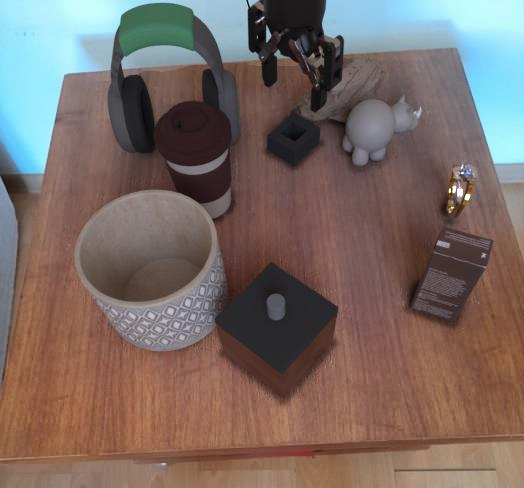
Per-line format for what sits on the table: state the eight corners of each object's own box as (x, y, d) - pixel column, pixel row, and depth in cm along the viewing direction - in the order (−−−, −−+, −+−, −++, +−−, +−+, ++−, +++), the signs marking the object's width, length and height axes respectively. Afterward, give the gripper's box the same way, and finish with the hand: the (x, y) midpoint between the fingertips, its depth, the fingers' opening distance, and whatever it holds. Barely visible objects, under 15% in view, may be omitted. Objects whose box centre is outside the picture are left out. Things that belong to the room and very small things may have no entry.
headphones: (240, 113, 82) (226, -18, 64) (242, 161, 77) (228, 34, 59) (129, 122, 82) (84, -6, 64) (124, 170, 78) (74, 47, 60)
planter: (244, 266, 69) (236, 203, 57) (206, 369, 62) (187, 321, 51) (138, 242, 71) (109, 178, 60) (91, 339, 65) (48, 287, 53)
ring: (438, 190, 73) (455, 147, 66) (460, 193, 72) (479, 150, 65) (436, 227, 70) (453, 186, 63) (459, 230, 70) (478, 189, 62)
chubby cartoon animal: (424, 154, 76) (439, 106, 68) (352, 174, 75) (359, 128, 67) (404, 124, 79) (417, 75, 71) (335, 142, 78) (340, 95, 70)
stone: (386, 95, 82) (351, 43, 78) (409, 91, 75) (372, 33, 70) (320, 159, 85) (283, 112, 81) (336, 162, 77) (296, 110, 73)
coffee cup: (251, 188, 75) (242, 102, 61) (222, 236, 71) (206, 156, 58) (194, 170, 77) (174, 83, 63) (163, 216, 73) (135, 134, 60)
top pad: (292, 128, 80) (292, 112, 77) (319, 143, 78) (320, 127, 75) (267, 150, 78) (266, 135, 75) (294, 166, 76) (294, 151, 74)
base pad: (271, 266, 59) (270, 248, 55) (338, 312, 56) (341, 295, 52) (215, 323, 56) (210, 307, 53) (282, 374, 53) (281, 360, 49)
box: (461, 296, 65) (496, 239, 54) (452, 323, 63) (487, 270, 52) (417, 281, 66) (442, 223, 55) (407, 308, 65) (431, 253, 54)
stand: (273, 301, 66) (271, 266, 59) (332, 342, 63) (338, 312, 56) (223, 352, 63) (215, 323, 56) (283, 399, 60) (282, 374, 53)
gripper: (366, -26, 54) (349, 102, 69) (269, -66, 59) (272, 62, 73) (325, 7, 52) (316, 132, 67) (227, -37, 56) (239, 89, 71)
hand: (293, 96), depth 70 cm, fingers open, 8 cm apart
